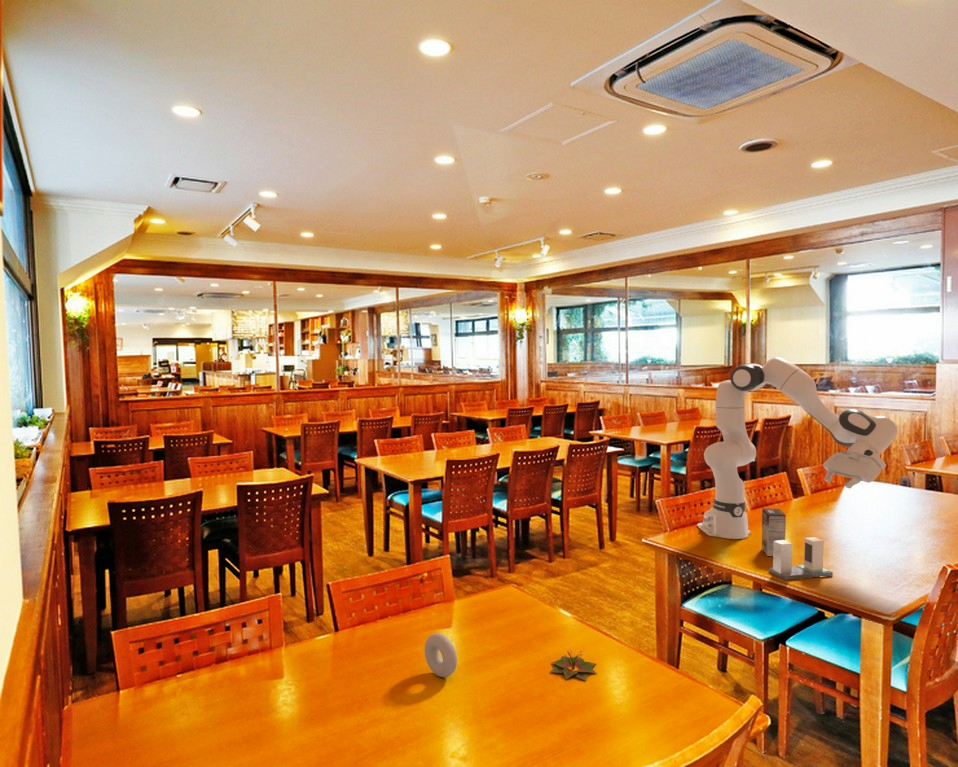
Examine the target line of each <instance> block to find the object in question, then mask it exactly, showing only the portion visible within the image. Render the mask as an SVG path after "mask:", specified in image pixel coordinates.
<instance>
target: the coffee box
mask: <svg viewBox="0 0 958 767" xmlns="http://www.w3.org/2000/svg"><path fill="white" fill-rule="evenodd" d="M761 514H762V515H761V518H762V519H761V550H762V549H763V550H762V551H763V552H765V553H766V554H765V553H764V554H765V555H766V557H767V556H773V542H774V541H778V540H785V541H786V524H787V522H786V519H787V516H786V514H785V513H784V511H782V510H781V509H780V508H767V507H766V508H762V511H761Z"/></svg>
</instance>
